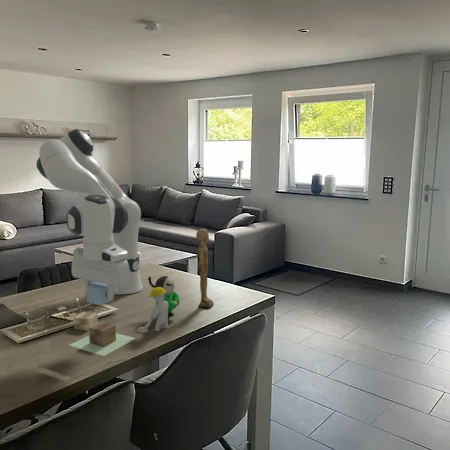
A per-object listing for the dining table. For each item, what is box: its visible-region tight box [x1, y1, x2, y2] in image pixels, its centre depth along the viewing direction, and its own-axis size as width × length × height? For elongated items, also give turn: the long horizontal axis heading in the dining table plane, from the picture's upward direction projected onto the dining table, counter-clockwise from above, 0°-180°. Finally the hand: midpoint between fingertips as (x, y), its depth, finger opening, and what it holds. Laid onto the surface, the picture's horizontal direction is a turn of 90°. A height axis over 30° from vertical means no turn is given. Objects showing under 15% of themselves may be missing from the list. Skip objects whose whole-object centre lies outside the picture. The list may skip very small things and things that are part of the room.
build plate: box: [68, 332, 136, 357], centre depth 140 cm, size 14×14×1 cm
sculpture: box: [195, 228, 215, 308], centre depth 172 cm, size 7×6×30 cm
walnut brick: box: [88, 321, 117, 347], centre depth 139 cm, size 6×6×5 cm
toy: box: [147, 275, 181, 317], centre depth 162 cm, size 10×11×15 cm
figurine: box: [136, 287, 170, 334], centre depth 149 cm, size 10×9×15 cm
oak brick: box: [73, 311, 99, 332], centre depth 151 cm, size 6×6×5 cm
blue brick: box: [85, 282, 115, 306], centre depth 137 cm, size 6×6×5 cm
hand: (100, 295), depth 137 cm, fingers closed on blue brick, 5 cm apart
